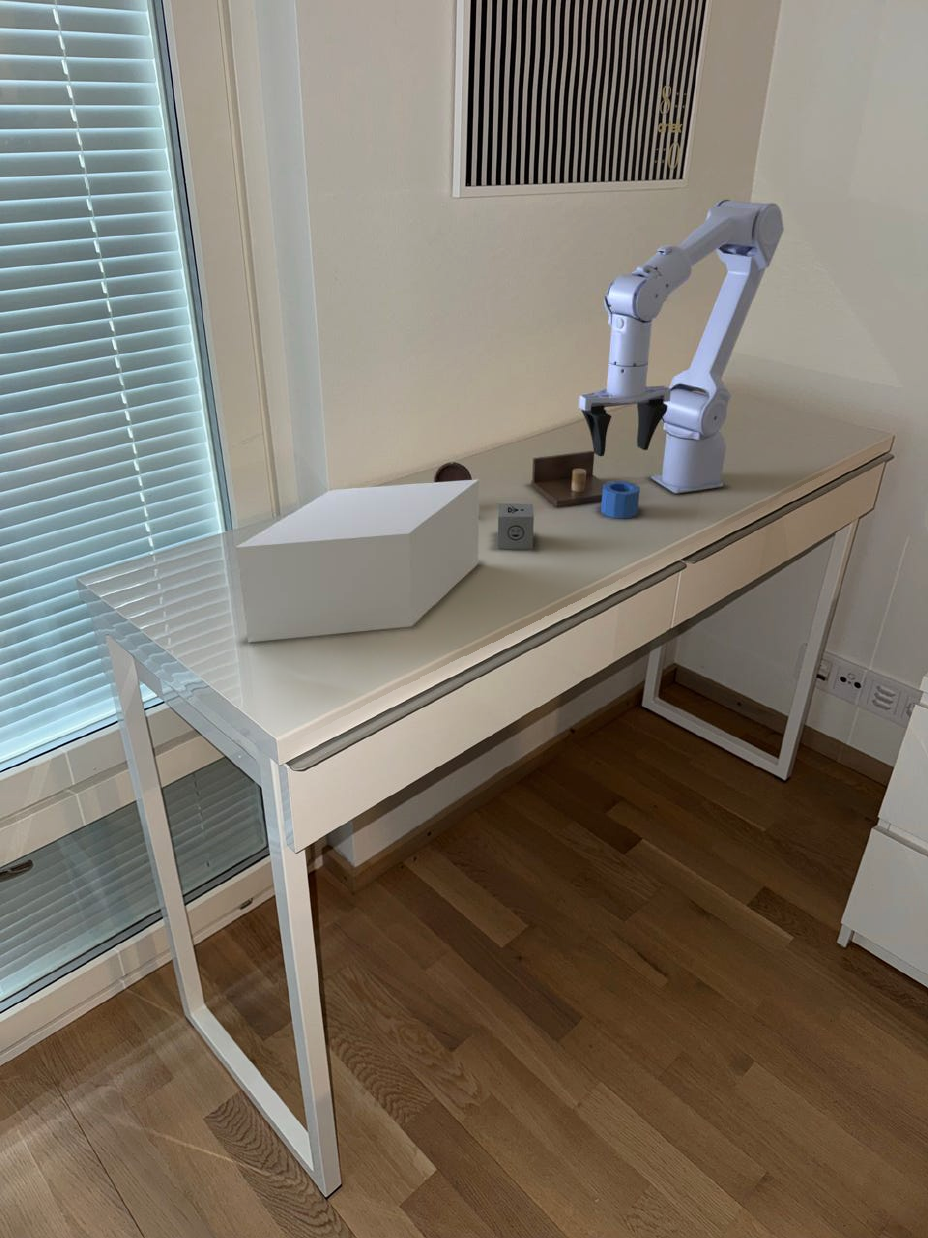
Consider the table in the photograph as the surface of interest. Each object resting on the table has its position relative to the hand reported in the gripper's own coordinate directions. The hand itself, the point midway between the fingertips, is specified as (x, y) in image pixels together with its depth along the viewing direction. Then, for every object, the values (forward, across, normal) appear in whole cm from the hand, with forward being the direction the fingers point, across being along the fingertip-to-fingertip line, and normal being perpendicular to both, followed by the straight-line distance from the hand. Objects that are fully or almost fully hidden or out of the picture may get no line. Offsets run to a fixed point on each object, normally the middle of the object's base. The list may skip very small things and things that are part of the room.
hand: (620, 451), depth 140 cm
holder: (+9, +3, -8) cm, 13 cm away
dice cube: (+9, +20, +7) cm, 23 cm away
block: (+9, +45, +17) cm, 49 cm away
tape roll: (+9, 0, +2) cm, 9 cm away
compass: (+9, +25, -6) cm, 28 cm away
